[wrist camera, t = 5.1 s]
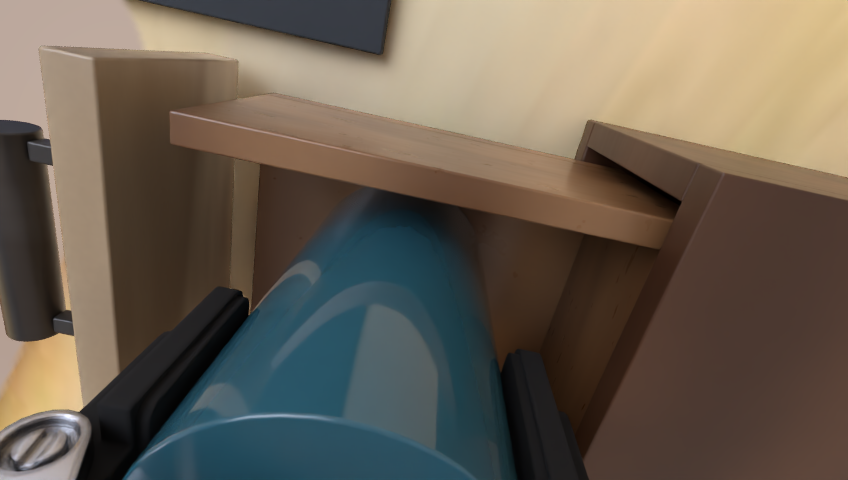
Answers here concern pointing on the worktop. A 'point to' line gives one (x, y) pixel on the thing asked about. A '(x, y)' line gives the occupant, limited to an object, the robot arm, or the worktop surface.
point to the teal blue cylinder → (354, 362)
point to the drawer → (289, 211)
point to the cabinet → (727, 322)
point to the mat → (303, 18)
